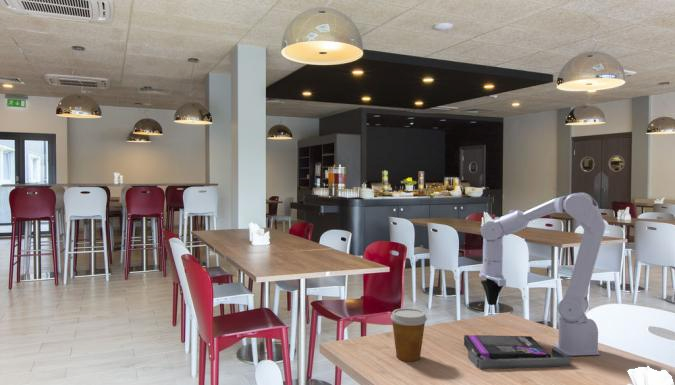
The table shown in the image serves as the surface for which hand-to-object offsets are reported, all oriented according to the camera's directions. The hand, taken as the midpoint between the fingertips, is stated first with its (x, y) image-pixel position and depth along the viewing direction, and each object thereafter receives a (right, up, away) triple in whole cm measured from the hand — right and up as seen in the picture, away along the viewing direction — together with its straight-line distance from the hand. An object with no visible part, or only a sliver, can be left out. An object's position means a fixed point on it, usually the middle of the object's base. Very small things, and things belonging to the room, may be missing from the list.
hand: (491, 304), depth 146 cm
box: (-1, -11, -16) cm, 19 cm away
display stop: (0, -10, -22) cm, 24 cm away
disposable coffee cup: (-28, -10, -18) cm, 35 cm away
